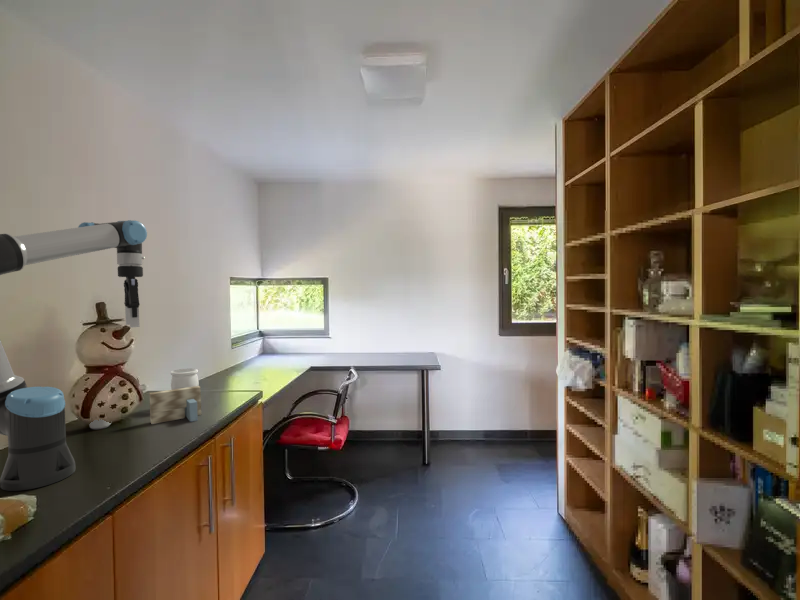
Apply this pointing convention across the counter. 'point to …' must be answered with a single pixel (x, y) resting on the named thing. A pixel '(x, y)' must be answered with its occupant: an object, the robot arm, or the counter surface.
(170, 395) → the birch plate
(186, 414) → the blue board
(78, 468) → the counter surface
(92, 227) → the robot arm
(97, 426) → the beverage can
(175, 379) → the jar
